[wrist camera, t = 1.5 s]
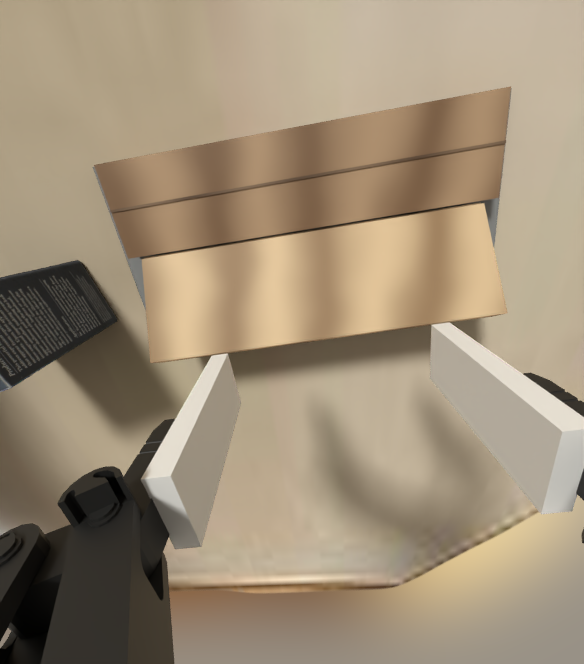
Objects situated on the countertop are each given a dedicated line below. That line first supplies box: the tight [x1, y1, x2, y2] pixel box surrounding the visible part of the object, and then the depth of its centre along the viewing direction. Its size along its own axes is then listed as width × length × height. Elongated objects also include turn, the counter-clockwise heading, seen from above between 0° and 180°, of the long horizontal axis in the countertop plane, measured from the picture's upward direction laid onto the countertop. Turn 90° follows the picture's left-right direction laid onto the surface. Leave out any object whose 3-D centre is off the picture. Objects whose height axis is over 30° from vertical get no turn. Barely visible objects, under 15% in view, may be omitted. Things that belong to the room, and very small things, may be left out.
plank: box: [142, 202, 507, 363], centre depth 20 cm, size 24×8×2 cm, turn 99°
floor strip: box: [94, 87, 511, 259], centre depth 19 cm, size 26×6×2 cm, turn 99°
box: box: [0, 260, 117, 392], centre depth 19 cm, size 8×6×11 cm
